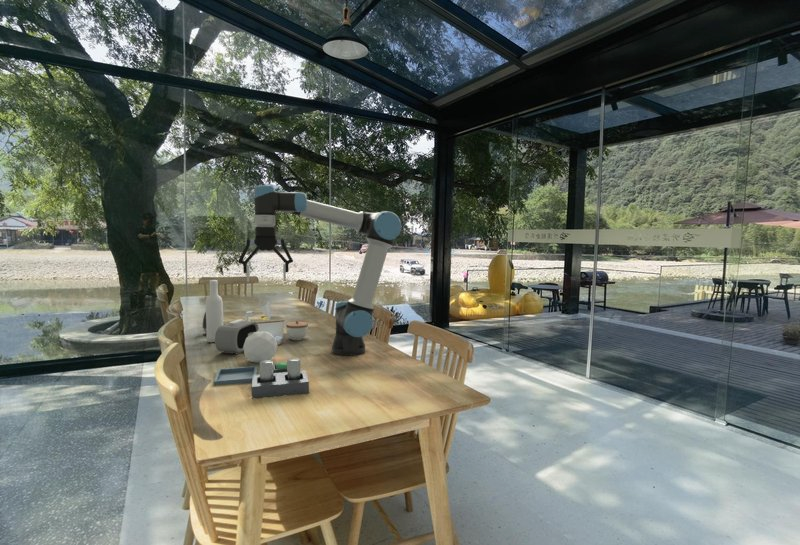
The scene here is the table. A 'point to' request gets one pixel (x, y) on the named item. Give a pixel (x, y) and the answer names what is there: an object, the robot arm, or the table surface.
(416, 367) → the table surface
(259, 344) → the geodesic sphere
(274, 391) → the block
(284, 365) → the button
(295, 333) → the lidded jar
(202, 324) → the pump dispenser
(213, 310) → the bottle
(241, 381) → the tray
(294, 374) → the cylinder
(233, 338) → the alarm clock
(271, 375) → the loose billet
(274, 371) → the button housing
